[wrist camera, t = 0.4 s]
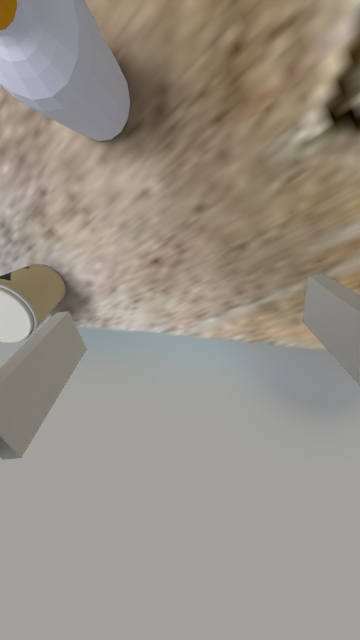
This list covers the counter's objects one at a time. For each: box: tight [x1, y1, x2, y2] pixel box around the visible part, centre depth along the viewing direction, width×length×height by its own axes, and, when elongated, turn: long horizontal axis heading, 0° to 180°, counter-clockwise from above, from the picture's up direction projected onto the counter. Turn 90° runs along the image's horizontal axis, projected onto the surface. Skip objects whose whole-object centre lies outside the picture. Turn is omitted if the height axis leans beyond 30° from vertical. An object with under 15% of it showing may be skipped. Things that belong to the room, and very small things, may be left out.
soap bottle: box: [0, 0, 130, 141], centre depth 18 cm, size 9×9×24 cm
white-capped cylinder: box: [0, 264, 65, 343], centre depth 36 cm, size 9×9×12 cm
